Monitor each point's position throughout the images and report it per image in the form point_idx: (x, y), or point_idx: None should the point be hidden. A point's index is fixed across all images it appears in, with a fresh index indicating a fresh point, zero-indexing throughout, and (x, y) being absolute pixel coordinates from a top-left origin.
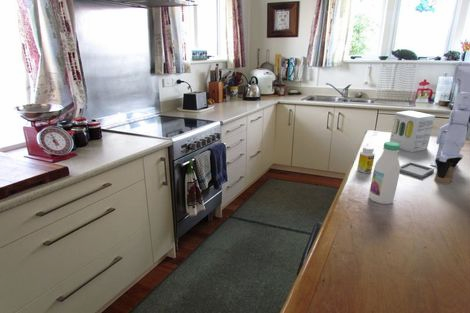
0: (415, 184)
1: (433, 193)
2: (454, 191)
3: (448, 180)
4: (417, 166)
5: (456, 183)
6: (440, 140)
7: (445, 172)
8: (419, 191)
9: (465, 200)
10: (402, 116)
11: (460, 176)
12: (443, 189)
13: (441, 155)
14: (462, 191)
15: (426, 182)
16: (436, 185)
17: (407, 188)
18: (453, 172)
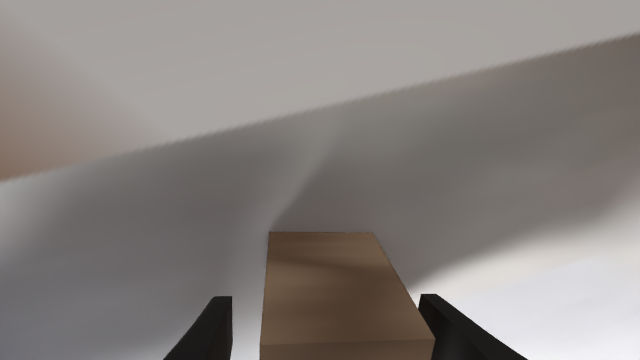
0: (530, 355)
1: (619, 237)
2: (486, 150)
3: (378, 252)
4: None
5: (278, 191)
6: None
7: (496, 343)
8: (633, 300)
9: (628, 35)
10: None
11: (32, 221)
12: (500, 218)
13: None
14: (440, 103)
15: None
16: (453, 274)
17: (625, 354)
18: (291, 294)
